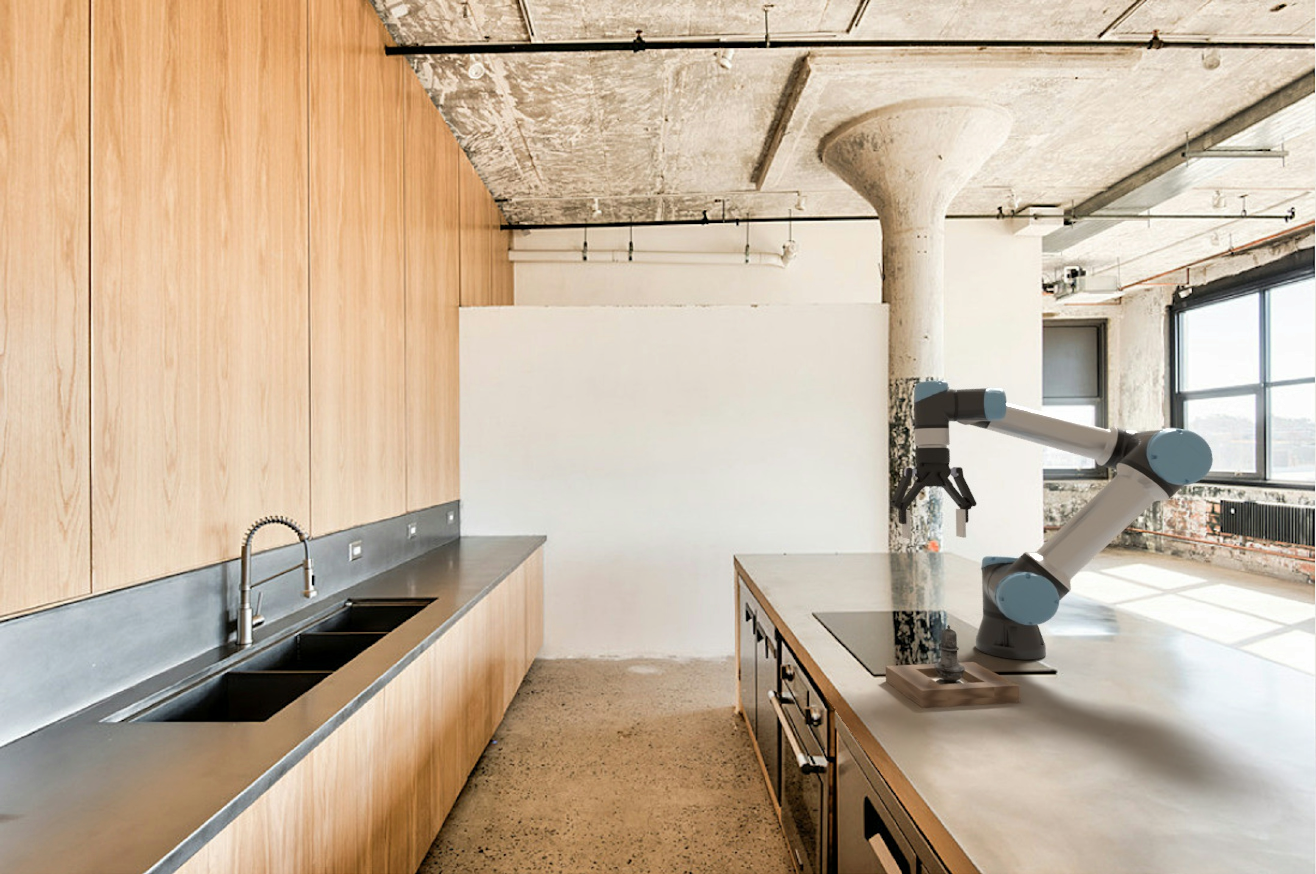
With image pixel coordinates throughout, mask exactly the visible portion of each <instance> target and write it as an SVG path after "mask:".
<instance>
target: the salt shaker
mask: <svg viewBox="0 0 1316 874" xmlns="http://www.w3.org/2000/svg"><path fill="white" fill-rule="evenodd" d="M940 635H941V636H940V640H941V641H940V642H941V643H940V644H941V645H939V649H940V660H939V661H938V662H936V663H933V664H934V667H935V668H936V672H937V674H938V675H939V677H941V679H939V680H937V681H936V682H937V683H939V684H958V683H961V682H960V681H958V680H959V679H960V678H962V676H963V673H964V670H965V667H964V666H962V665H960V664H959V663H960V662H959V659H958V651H959V650H960V648H959V647H958V643H957V641H958V639H957V636H958V635H957V633H956V631H955V630H953V629H951V626H950V624H948V625H947V626H946V628H944V629H943V630H941V633H940Z"/></svg>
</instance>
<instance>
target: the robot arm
mask: <svg viewBox="0 0 1316 874" xmlns="http://www.w3.org/2000/svg"><path fill="white" fill-rule="evenodd" d="M913 397H914V398H913V399H914V400H913V411H914V413H913V414H914V416H913V417H914V445H915V446H917V448H915V450H914V455H915V457H914V458H915V459H914V460H915V468H911V467H903V468H902V473H901V474H902V475H901V479H900V481H899V483H898V485H897V487H896V489H895V492H894V494H893V497H891V501H890V503H889V505H890V507H892V508H895V509H896V510H897V511H898V512H897V513H898V523H899V524H900V525H901V537H902V539H903V538H904V539H907V540H908V539H909V540H911V539H912V532H911V531H912V528H911V527H912V526H911V524H912V522H911V520H912V519H911V516H912V515H911V510H909V509H908V508H909V507H910V506H911V504H912V503H913V502H914V500H915V499H916V498H917V496H919V494H920V493H921V491H922V490H923V489H924V488H926V487H927V488H928V487H929V488H933V487H941V488H943V490H944V491H945V493H947V495H948V496H949V497H950V498H951V499H952V500H953V502H954V503H955V504H956V505H957V506H958V508H955V529H956V530H955V534H956V537H959V538H967V532H966V531H967V529H966V528H967V527H966V525H967V523H969V510H971V509H972V508H973V507H976V506H977V504H978V503H977V501H976V499H975V498H974V495H973V493H972V491H971V489H970V487H969V485H968V483H967V481H966V479H965V477H964V470H963V467H960V466H954V467H952V468H951V467H950V462H951V461H950V460H951V456H950V449H949V447H948V446H949V445H950V422H957V423H958V424H961V425H965V426H966V425H967V426H968V425H970V426H973V427H976V428H980V429H985V430H987V431H988V430H989V431H992V432H996V433H999V434H1002V435H1006V436H1010V437H1013V438H1017V439H1021V440H1024V441H1028V442H1031V443H1034V444H1035V443H1036V444H1039V445H1042V446H1045V447H1049V448H1053V449H1055V450H1060V451H1064V452H1068V453H1070V454H1074V455H1078V456H1081V457H1086V458H1088V459H1092V460H1095V462H1096V464H1097V465H1098V466H1101V467H1105V468H1107V469H1110V470H1111V469H1112V470H1114V471H1116V472H1117V473H1116V475H1115V476H1114V477H1113V478H1112V479H1111V480H1110V481H1109V482H1108V483H1107V484H1106V485H1105V486H1104V487H1103V488H1101V490H1099V491H1098V493H1096V494H1095V496H1093V497H1092V498H1091V499H1090V500H1089V501H1088V502H1087V503H1086V504H1085V505H1083V507H1081V508H1080V510H1078V512H1076V513H1075V515H1073V516H1072V517H1071V518H1070V519H1069V520H1068V521H1067V522H1066V523H1065V524H1063V526H1062V527H1061V528H1059V529H1058V530H1057V531H1056V533H1054V535H1052V536H1051V537H1050V538H1049V539H1048V540H1046V542H1045V543H1044V544H1043V545H1042V546H1040V547H1039V549H1038V550H1036V551H1024V552H1023V553H1022V554H1021V556H994V555H993V556H992V555H987V556H984V557H982V560H981V568H980V570H981V581H982V582H981V584H982V585H981V587H982V588H981V589H982V619H981V622H980V624H979V628H978V631H977V634H976V636H975V648H976V649H977V650H978V651H979V652H981V653H984V654H987V655H990V656H995V657H999V658H1004V659H1011V660H1012V659H1013V660H1027V661H1028V660H1039V659H1042V658H1045V657H1046V655H1047V647H1046V643H1045V640H1044V638H1043V635H1042V632H1041V630H1040V627H1039V625H1042V624H1044V623H1046V622H1048V621H1050V620H1052V618H1053V617H1055V615H1056V613H1057V612H1058V609H1059V608H1060V601H1061V600H1062V599H1063V598H1064V597H1065V596H1066V595H1067V594H1069V593H1070V592H1071V590H1072V588H1071V587H1072V586H1071V580H1072V579H1073V578H1074V577H1075V576H1076V575H1077V574H1079V572H1080V571H1082V570H1083V568H1085V567H1086V566H1087V565H1088V564H1089V563H1090V562H1091V561H1092V560H1094V558H1096V556H1098V555H1099V554H1100V553H1101V552H1102V551H1104V549H1105V548H1106V547H1107V546H1109V544H1111V542H1112V541H1114V540H1115V539H1116V538H1117V537H1118V536H1119V535H1121V534H1122V532H1123V531H1124V530H1126V529H1127V528H1128V527H1129V526H1130V525H1131V524H1132V523H1133V522H1134V521H1135V520H1136V519H1137V518H1139V516H1141V515H1142V514H1143V513H1144V512H1145V511H1146V510H1147V509H1148V508H1149V507H1150V506H1151V505H1152V504H1153V503H1155V502H1167V501H1168V500H1170V499H1171V498H1172V497H1173V496H1174V495H1175V494H1177V492H1179V491H1180V490H1181V489H1182V488H1183V487H1184V486H1190V485H1193V484H1195V483H1197V482H1200V481H1201V480H1202V479H1204V478H1205V477H1206V476H1207V475H1208V474H1209V472H1210V470H1211V468H1212V465H1213V461H1214V459H1213V451H1212V448H1211V447H1210V445H1209V443H1208V442H1207V441H1206V439H1204V438H1203V437H1202V436H1201V435H1200V434H1198V433H1196V432H1194V431H1192V430H1188V429H1181V428H1177V427H1168V428H1164V429H1156V430H1155V429H1154V430H1133V429H1132V430H1131V429H1125V428H1120V427H1118V426H1117V427H1116V426H1110V427H1108V428H1103V427H1099V426H1095V425H1091V424H1087V423H1084V422H1081V421H1077V420H1073V419H1068V418H1065V417H1061V416H1057V415H1053V414H1049V413H1046V412H1042V411H1038V410H1034V409H1030V408H1027V407H1024V406H1019V405H1016V404H1012V403H1008V401H1007V396H1006V392H1005V390H1004V389H1003V388H998V387H997V388H996V387H995V388H994V387H992V388H991V387H986V388H983V387H982V388H963V389H953V388H950V387H949V383H948V382H947V381H946V380H927V381H920V382H917V384H915V386H914V395H913ZM914 476H915V477H916V480H915V481H913V484H912V486H911V488H910V489H909V490H908V488H909V486H910V483H911V481H912V479H913V478H914ZM950 476H951V477H952V478H953V480H954V483H955V485H956V486H957V488H956V487H954V484H953V483H952V481H951V480H950V479H949V477H950ZM957 489H958V490H957ZM907 490H908V491H907Z"/></svg>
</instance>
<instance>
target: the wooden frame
mask: <svg viewBox="0 0 1316 874" xmlns="http://www.w3.org/2000/svg"><path fill="white" fill-rule="evenodd" d="M958 663H959V664H960V665H962V666H964V667H965V670H964V673H963V676H962V678H960V679H959V680H958V681H960V682H961V683H958V684H939V683H937V682H936V681H937V680H939V679H941V677H939V675H938V674H937V672H936V668H935V667H934V664H935V663H925V664H924V663H923V664H903V665H901V664H900V665H885V682H886V683H888V684H889V685H890V686H892V688H895V689H896V690H897V691H898V692H900V693H901V694H903V695H905V696H906V697H907V698H908V699H910V700H912V701H913V702H914V703H916V704H917V705H918V707H921V708H936V707H937V708H940V707H957V706H960V707H961V706H975V705H976V706H977V705H990V704H991V705H993V704H1010V703H1012V704H1013V703H1020V701H1021V699H1020V698H1021V696H1020V684H1017V683H1015V682H1013V681H1011V680H1009V679H1007V678H1005V677H1004V676H1002V675H999V674H998V673H996V672H994V671H992V670H990V669H988V668H986V667H984V666H983V665H980V664H978V663H976V662H975V661H965V662H964V661H963V662H958Z"/></svg>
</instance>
